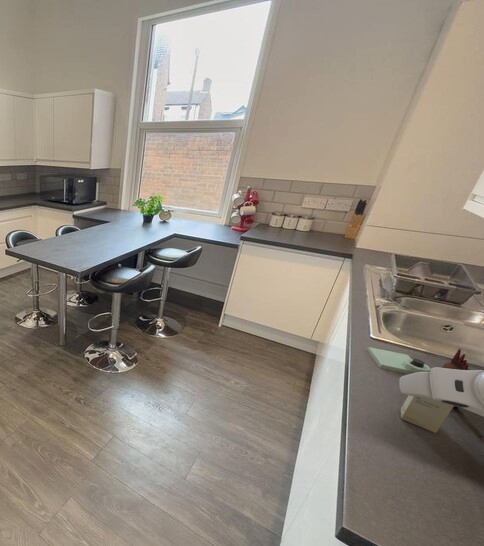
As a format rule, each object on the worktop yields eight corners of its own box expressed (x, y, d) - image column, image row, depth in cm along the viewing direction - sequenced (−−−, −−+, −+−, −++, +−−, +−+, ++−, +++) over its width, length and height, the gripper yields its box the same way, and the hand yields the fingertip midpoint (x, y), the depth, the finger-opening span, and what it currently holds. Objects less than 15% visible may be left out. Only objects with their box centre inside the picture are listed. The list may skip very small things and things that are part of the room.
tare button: (419, 364, 93) (422, 360, 92) (424, 369, 91) (426, 364, 90) (409, 362, 93) (411, 357, 93) (413, 366, 91) (415, 362, 91)
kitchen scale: (410, 359, 99) (414, 351, 98) (429, 380, 90) (434, 372, 89) (367, 350, 103) (370, 342, 102) (381, 370, 94) (385, 361, 93)
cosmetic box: (400, 419, 77) (422, 380, 72) (399, 409, 80) (420, 371, 75) (437, 434, 73) (463, 394, 68) (435, 423, 76) (459, 383, 71)
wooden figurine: (420, 387, 87) (445, 343, 81) (450, 397, 84) (478, 351, 78) (427, 402, 82) (454, 355, 76) (459, 412, 79) (490, 365, 73)
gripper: (576, 396, 55) (505, 400, 67) (424, 364, 63) (384, 373, 75) (585, 433, 53) (510, 431, 65) (427, 396, 61) (385, 400, 73)
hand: (442, 400), depth 70 cm, fingers open, 8 cm apart
